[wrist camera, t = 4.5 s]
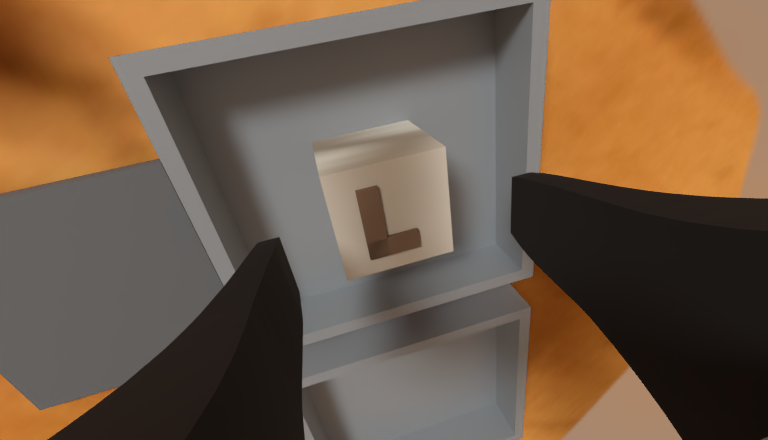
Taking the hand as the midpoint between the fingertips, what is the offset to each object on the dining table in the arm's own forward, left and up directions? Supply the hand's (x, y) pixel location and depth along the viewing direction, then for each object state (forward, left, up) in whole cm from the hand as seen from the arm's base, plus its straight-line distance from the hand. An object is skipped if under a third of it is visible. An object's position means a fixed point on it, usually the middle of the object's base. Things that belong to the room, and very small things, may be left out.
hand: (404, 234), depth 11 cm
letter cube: (0, 0, -5) cm, 5 cm away
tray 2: (0, -14, -6) cm, 15 cm away
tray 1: (0, 0, -6) cm, 6 cm away
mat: (-13, -3, -6) cm, 14 cm away
